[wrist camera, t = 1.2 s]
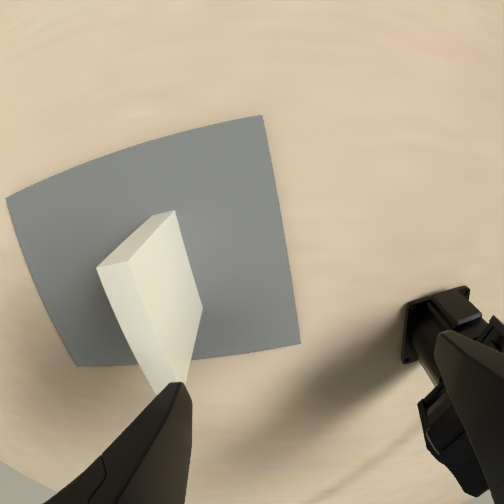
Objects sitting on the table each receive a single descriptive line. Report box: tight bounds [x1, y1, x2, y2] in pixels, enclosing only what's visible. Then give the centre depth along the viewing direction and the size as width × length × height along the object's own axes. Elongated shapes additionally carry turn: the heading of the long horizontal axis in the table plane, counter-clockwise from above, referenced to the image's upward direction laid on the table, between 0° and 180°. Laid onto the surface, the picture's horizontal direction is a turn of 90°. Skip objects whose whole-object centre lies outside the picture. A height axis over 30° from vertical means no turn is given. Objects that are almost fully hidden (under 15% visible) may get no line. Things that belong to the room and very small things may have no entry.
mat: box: [6, 115, 301, 366], centre depth 20 cm, size 16×20×1 cm
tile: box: [96, 210, 203, 395], centre depth 16 cm, size 7×2×8 cm, turn 11°
